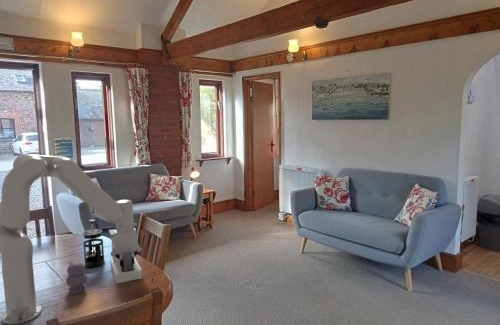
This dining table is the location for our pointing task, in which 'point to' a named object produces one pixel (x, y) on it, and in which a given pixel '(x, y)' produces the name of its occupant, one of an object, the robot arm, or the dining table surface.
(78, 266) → the cat figurine
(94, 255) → the french press
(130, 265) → the peg
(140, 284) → the dining table surface
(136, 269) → the white dispenser with tray
